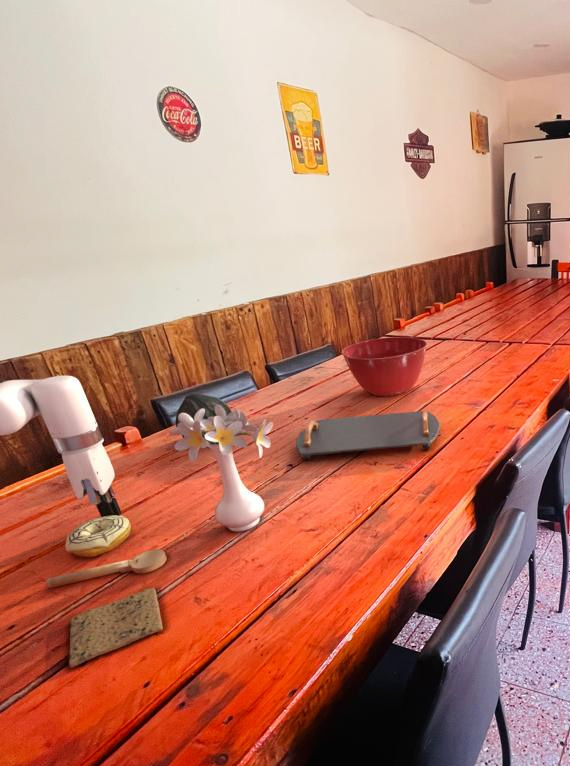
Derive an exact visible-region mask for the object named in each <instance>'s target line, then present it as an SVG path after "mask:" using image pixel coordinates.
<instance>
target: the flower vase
mask: <svg viewBox="0 0 570 766" xmlns="http://www.w3.org/2000/svg"><path fill="white" fill-rule="evenodd" d="M232 406H233V409H234V411H232V412H231V413H230V414H229V415H228V416H226V412H225V410H224V409H223V408H222V407H221V406H220V405H218V404H217V405H215V412H216V415H217V416H215V417H208V420H206V419H203V416H204V413H205V409H200V410H199V411H198V412H197V413H196V414H195V416H194V420H193V419H192V418H191V417H190V416H189V415H188V414H186V413H180V414H179V415H178V420H179V421H180V423H178V425H177V426H178V427H177V428H176V427H174V428H173V429H171V430H170V432H169V435H170V436H179V435H181V434H182V435H183V436H184V438H181V439H179V440H178V441H176V442H175V444H174V450H175V451H177V452H181V451H186V450H187V449H188V450H189V451H188V458H189V461H191V462H195V461H196V459H197V458H198V453H199V450H200V449H206V448H207V447H208V448H209V449H210V450H211V453H212V454H213V456H214V459H215V460H216V461H215V462H216V463H217V466H218V469H219V474H220V477H221V481H222V496H221V499H220V500H219V501H218V503H217V505H216V507H215V511H214V517H215V520H216V521H217V522H218V523H219V524H220V525H222V526H224V527H226V528H227V529H228V530H229V531H232V532H244V531H248V530H250V529H252V528H254V527H255V526H257V525H258V524H259V523H260V520H261V516H262V515H263V513H264V511H265V507H266V506H265V502H264V499H262V497H261V496H260V495H258V494H257V493H256V492H253V491H251V490H249V489H248V488H247V487H246V486H245V484H244V482H243V481H242V479H241V477H240V475H239V471H238V468H237V466H236V463H235V460H234V454H233V453H234V452H233V446H234V447H237V448H247V446H248V442H247V441H246V440H245V438H243V437H241V436H248V437H252V439H253V442H254V444H255V447H256V450H257V455H258V457H259V459H261V458H262V456H263V452H264V449H263V447H264V448H265V449H270V447H271V445H272V444H271V443H272V442H271V439H270V438H269V436H267V434H269V433H270V432H271V431H272V429H273V426H274V422H273V421H271V422H269V423H268V424H267V419H266V418H265V419H264V420H263V421H262V423H261V424H260V425H259V427H257V426H255V425H253V424H251V423H249V419H248V417H247V415H246V414H245V413H244V412H243V411H241V410H238V408H236V407H235V405H232ZM194 421H195V422H194ZM202 432H205V433H206V434H204V433H202ZM250 432H252V433H250ZM182 435H181V436H182ZM202 435H204V436H205V438H203V437H202ZM207 441H208V442H207Z"/></svg>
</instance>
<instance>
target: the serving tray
mask: <svg viewBox="0 0 570 766" xmlns="http://www.w3.org/2000/svg"><path fill="white" fill-rule="evenodd" d="M440 429H441V423H440V421H439V419H438V418H437V417H436V416H435V415H434V414H433V413H431V412H430V411H427V410H420V411H409V412H396V413H394V412H393V413H387V414H384V413H383V414H369V415H361V416H347V417H338V418H337V417H336V418H326V419H317V420H316V421H314V420H310V421H308V422H307V424H306V426H305V428H304V429H303V430H302V431H301V432H300V433H299V434H298V436H297V438H296V439H295V450H296V452H297V454H298V456H300V457H301V459H302V460H303V461H304V462H309V461H310V460H311V457H312V456H318V455H320V456H321V455H328V454H329V455H331V454H340V453H351V452H360V451H361V452H362V451H373V450H374V451H375V450H385V449H395V448H406V447H418V446H422V448H423V450H424V451H430V449H431V447H432V443H433V442H434V441H435V440H436V438H438V435H439V434H440Z"/></svg>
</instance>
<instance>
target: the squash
mask: <svg viewBox="0 0 570 766" xmlns="http://www.w3.org/2000/svg"><path fill="white" fill-rule="evenodd" d="M217 404H218V405H220V406H221V407H222V408H223V409H224V410H225V412H226V416H228V415H229V414H230V413H231V412H233V411H232V410H231V408H230V406H229V405H228V404H227V403H225V402H224V401H223V400H221V399H220V398H219V397H216V396H211V395H207V394H203V393H189V394H187V395H186V396H185V397H184V398H183V400H182V402H181V403H180V405H179V407H178V409H177V411H176V415H175V428H177V427H178V426H177V425H178V423H180V421H179V420H178V415H179V414H180V413H186V414H188V415H189V416H190V417H191V418H192V419H193V420H194V416H195V414H196V413H197V412H198V411H199V410H200V409H205V413H204V416H203V419H206V420H208V417H215V416H217V415H216V412H215V405H217ZM194 422H195V421H194ZM202 433H204V434H206V433H205V432H202ZM180 435H181V437H182V439H184V436H183V435H182V434H180ZM202 437H203V438H205V436H204V435H202ZM207 442H208V441H207Z"/></svg>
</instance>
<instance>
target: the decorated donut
mask: <svg viewBox="0 0 570 766" xmlns="http://www.w3.org/2000/svg"><path fill="white" fill-rule="evenodd" d="M131 527H132V525H131V522H130V520H129V519H128V518H127V517H125V516H124V515H120V516H116V515H114V516H106V517H101V516H100V517H97V518H93V519H90V520H88V521H85V522H83V523H81V524H80V525H77V526H76V527H75V528H73V530H72V531H71V532H70V533H69V534H68V535H67V536H66V541H65V550H66V552H69V553H72V554H73V555H76V556H78V557H80V558H81V557H83V558H94V557H96V556H99V555H102V554H105V553H108V552H111V550H113V549H115V548H117V547H119V545H121V544H122V543H123V542H124V541H125V540H126V539H127V538H128V537H129V536H130V533H131V529H132V528H131Z"/></svg>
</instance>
